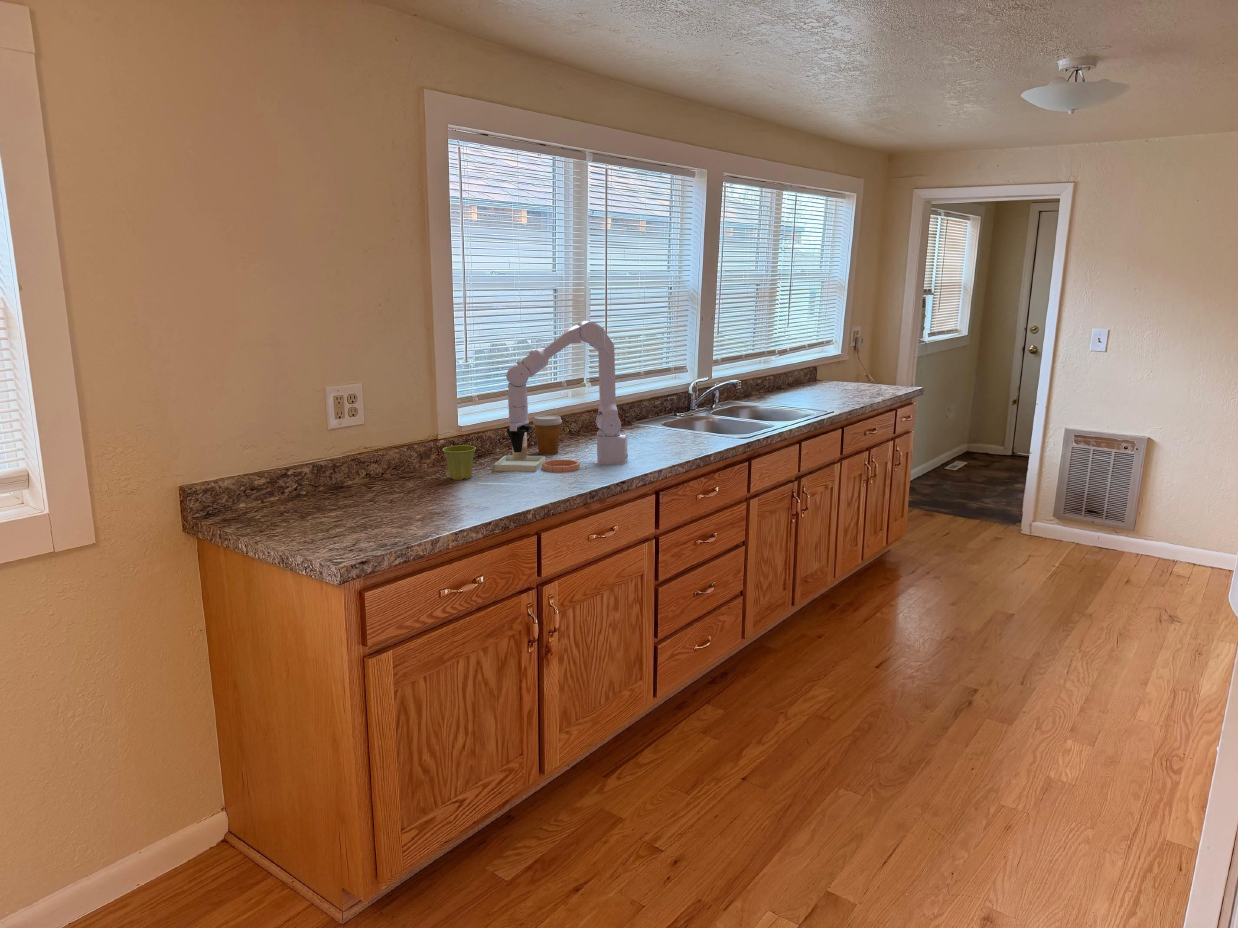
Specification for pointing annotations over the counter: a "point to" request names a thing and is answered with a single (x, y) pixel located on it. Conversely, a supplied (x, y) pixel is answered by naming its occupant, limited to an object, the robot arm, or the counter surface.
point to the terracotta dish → (560, 465)
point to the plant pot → (459, 461)
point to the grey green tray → (519, 464)
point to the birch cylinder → (523, 453)
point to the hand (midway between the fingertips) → (519, 450)
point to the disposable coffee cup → (547, 433)
